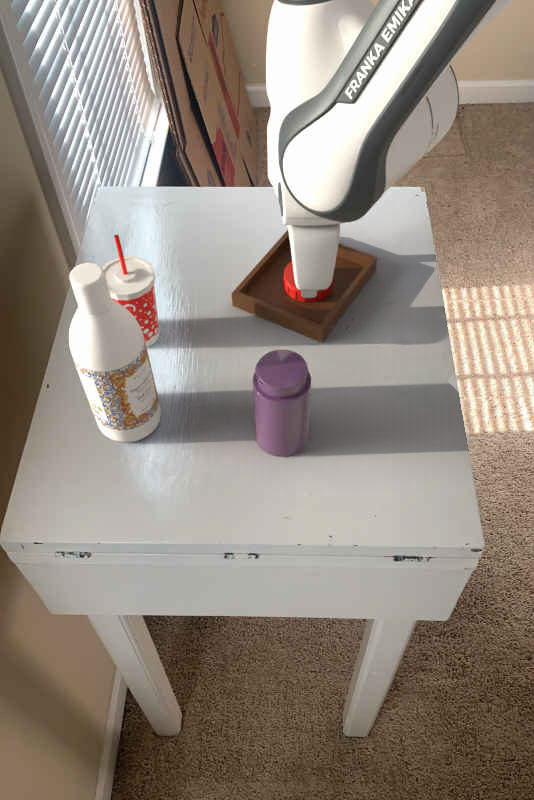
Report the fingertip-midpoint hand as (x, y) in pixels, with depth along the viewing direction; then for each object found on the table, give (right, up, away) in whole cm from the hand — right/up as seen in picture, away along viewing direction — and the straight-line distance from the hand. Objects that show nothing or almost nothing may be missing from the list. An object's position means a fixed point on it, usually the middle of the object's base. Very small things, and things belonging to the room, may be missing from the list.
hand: (306, 266), depth 82 cm
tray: (0, -2, +3) cm, 3 cm away
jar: (-3, -21, -9) cm, 23 cm away
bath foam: (-20, -19, -8) cm, 28 cm away
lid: (0, -1, +1) cm, 1 cm away
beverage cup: (-20, -9, -1) cm, 21 cm away
